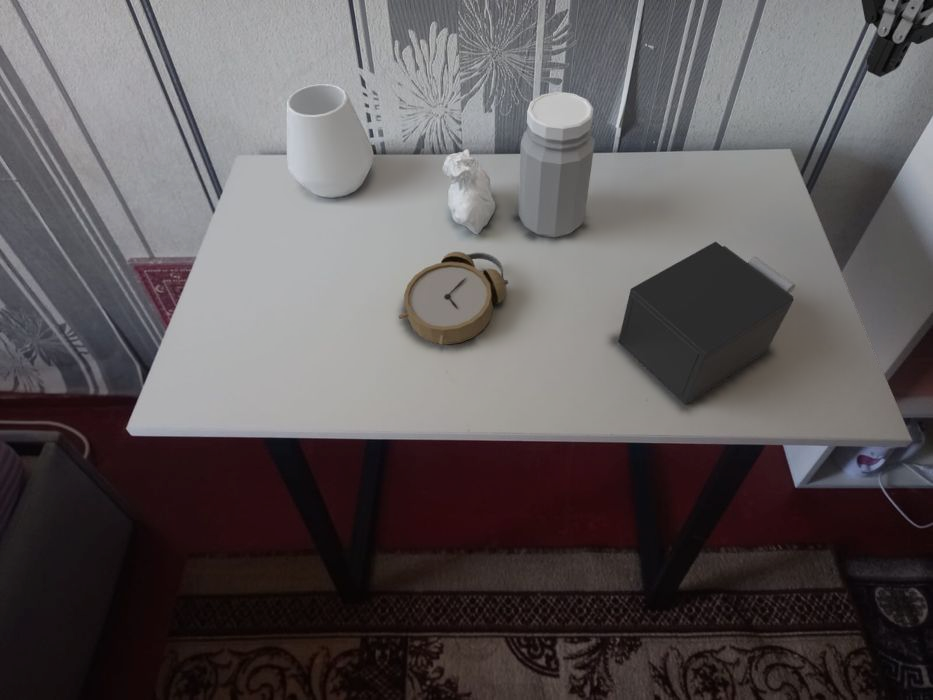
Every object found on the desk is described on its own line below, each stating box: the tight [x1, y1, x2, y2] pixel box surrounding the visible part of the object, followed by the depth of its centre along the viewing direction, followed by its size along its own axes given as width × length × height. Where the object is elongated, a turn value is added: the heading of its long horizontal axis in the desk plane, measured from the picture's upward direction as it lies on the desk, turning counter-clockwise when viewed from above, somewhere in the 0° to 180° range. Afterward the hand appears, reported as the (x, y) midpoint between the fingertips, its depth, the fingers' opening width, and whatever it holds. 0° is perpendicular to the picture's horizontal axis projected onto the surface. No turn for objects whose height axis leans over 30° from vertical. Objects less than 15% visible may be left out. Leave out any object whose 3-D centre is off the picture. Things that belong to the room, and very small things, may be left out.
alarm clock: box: [398, 251, 509, 346], centre depth 85 cm, size 11×5×15 cm
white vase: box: [286, 83, 375, 199], centre depth 99 cm, size 13×13×14 cm
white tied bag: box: [441, 148, 496, 235], centre depth 94 cm, size 12×8×11 cm
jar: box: [517, 91, 596, 239], centre depth 90 cm, size 10×10×18 cm
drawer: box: [722, 245, 796, 299], centre depth 78 cm, size 17×10×8 cm, turn 123°
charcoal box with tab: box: [618, 241, 794, 406], centre depth 77 cm, size 14×12×10 cm
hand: (878, 71), depth 69 cm, fingers closed
